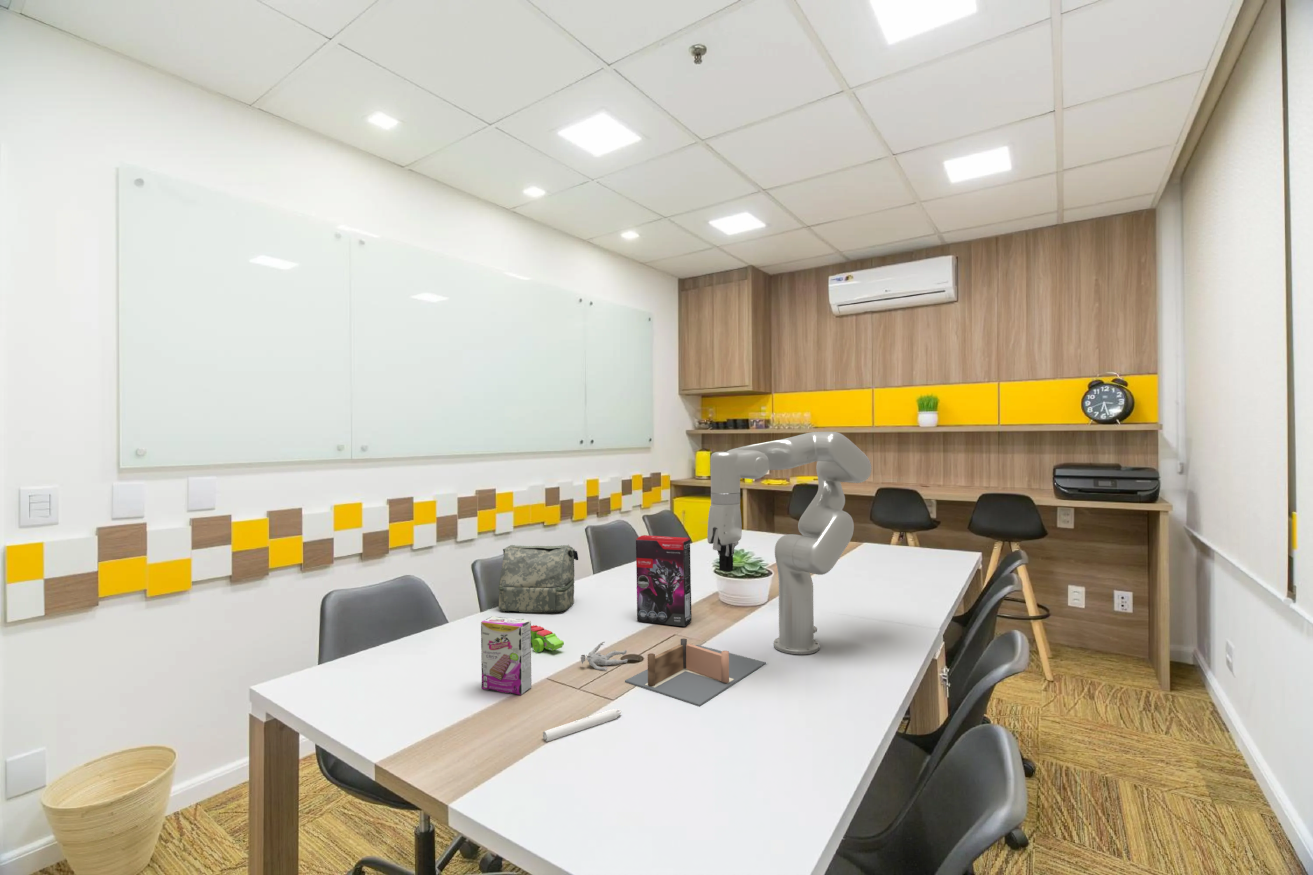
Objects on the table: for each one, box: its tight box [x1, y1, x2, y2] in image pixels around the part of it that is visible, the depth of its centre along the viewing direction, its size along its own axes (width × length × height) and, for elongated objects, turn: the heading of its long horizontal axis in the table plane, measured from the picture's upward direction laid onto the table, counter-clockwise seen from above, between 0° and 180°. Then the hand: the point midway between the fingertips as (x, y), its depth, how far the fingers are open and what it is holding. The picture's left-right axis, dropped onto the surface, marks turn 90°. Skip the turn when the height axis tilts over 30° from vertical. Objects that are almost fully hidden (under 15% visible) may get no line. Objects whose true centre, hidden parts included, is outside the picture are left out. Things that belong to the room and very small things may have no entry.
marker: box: [542, 708, 622, 743], centre depth 125 cm, size 18×2×2 cm, turn 126°
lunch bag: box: [498, 544, 579, 613], centre depth 213 cm, size 26×18×22 cm
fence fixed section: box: [647, 638, 688, 686], centre depth 150 cm, size 15×2×7 cm, turn 142°
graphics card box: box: [635, 534, 693, 627], centre depth 195 cm, size 17×7×27 cm, turn 67°
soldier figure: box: [580, 641, 628, 671], centre depth 158 cm, size 8×5×12 cm
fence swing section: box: [686, 643, 730, 682], centre depth 150 cm, size 13×2×7 cm, turn 46°
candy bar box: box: [480, 616, 532, 696], centre depth 144 cm, size 11×5×16 cm, turn 71°
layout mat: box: [624, 644, 767, 707], centre depth 153 cm, size 31×22×1 cm
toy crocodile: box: [521, 618, 565, 654], centre depth 174 cm, size 20×7×6 cm, turn 44°
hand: (726, 570), depth 156 cm, fingers closed
